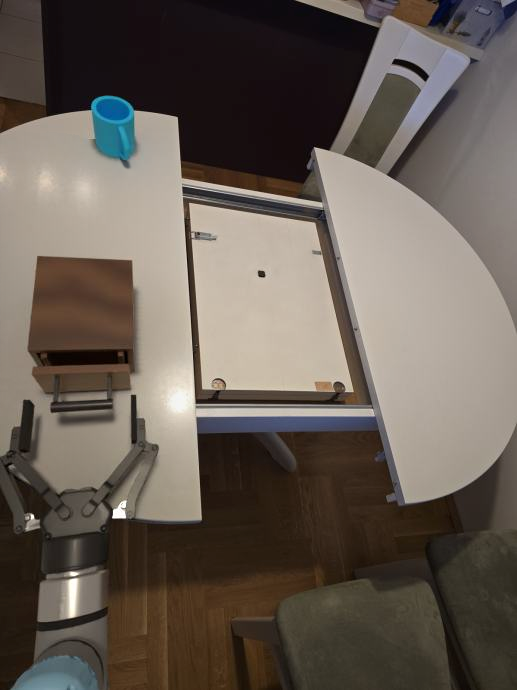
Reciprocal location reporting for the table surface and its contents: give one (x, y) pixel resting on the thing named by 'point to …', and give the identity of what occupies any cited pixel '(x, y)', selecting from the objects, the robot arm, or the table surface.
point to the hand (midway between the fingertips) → (83, 399)
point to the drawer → (82, 377)
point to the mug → (113, 126)
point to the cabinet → (82, 307)
